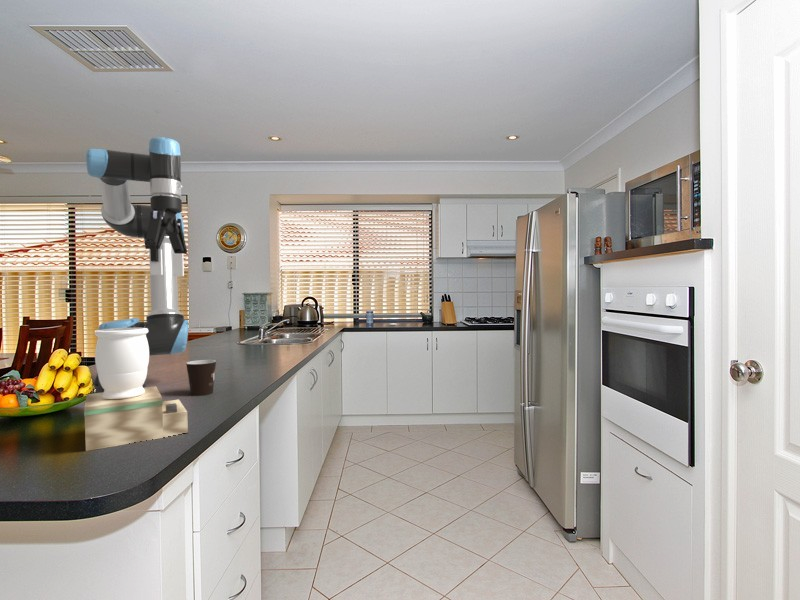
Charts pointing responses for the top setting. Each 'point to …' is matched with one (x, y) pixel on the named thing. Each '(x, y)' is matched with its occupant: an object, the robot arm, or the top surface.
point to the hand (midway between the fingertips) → (168, 275)
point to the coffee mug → (201, 376)
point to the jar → (122, 361)
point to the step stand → (131, 419)
